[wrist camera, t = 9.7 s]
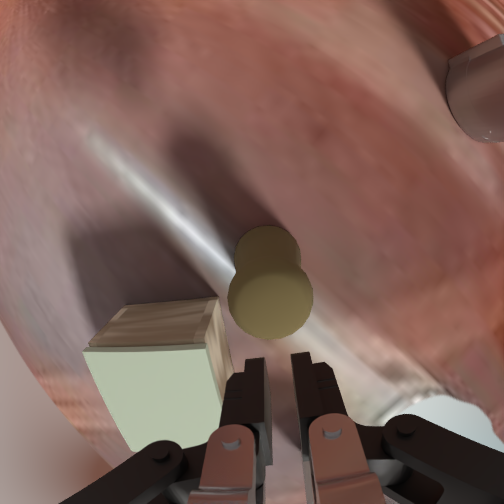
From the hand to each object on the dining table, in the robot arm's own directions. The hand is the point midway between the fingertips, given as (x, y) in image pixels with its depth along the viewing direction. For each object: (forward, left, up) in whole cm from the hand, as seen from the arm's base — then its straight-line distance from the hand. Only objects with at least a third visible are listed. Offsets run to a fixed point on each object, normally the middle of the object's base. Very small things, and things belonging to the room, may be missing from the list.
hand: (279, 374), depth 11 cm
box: (+9, -10, -17) cm, 22 cm away
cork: (0, 0, -17) cm, 17 cm away
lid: (+9, -10, -9) cm, 16 cm away
